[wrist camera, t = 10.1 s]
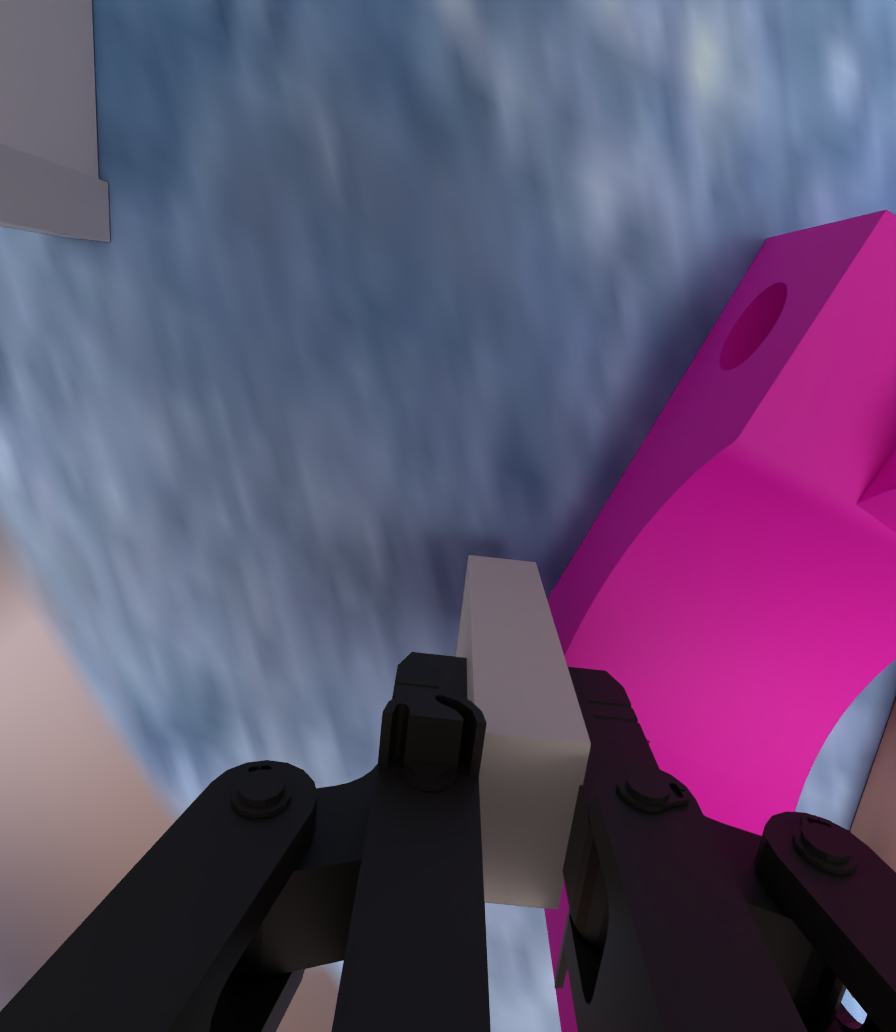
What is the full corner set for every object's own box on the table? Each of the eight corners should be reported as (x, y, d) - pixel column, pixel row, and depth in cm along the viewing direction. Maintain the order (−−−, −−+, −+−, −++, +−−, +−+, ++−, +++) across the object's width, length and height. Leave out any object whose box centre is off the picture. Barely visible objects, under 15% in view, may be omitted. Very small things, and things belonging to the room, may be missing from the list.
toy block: (763, 239, 15) (1044, 171, 8) (989, 372, 16) (1441, 424, 8) (449, 755, 19) (441, 1028, 12) (641, 842, 20) (746, 1149, 12)
